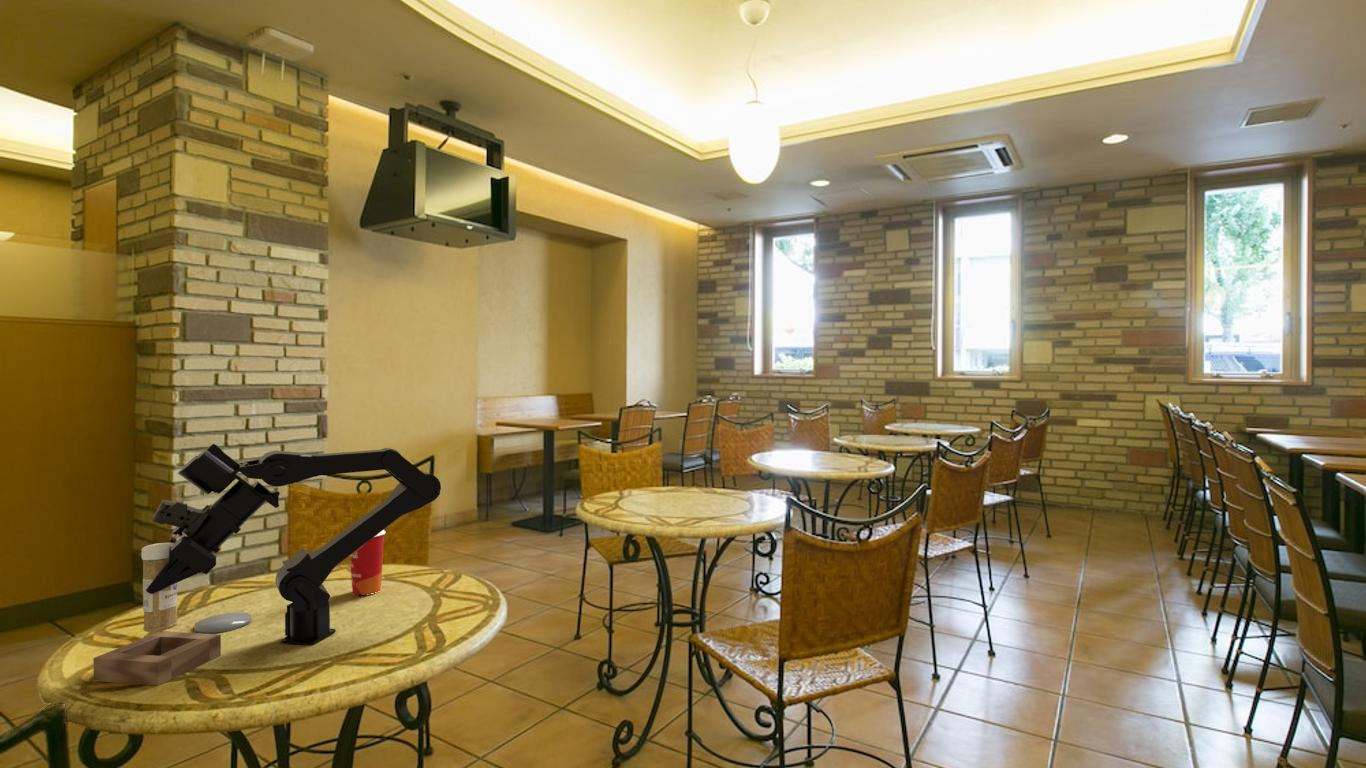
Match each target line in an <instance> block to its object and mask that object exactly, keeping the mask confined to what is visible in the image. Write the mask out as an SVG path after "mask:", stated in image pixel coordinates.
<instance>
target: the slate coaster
mask: <svg viewBox="0 0 1366 768" xmlns="http://www.w3.org/2000/svg"><path fill="white" fill-rule="evenodd" d="M251 622H252V614H251V613H248V612H243V611H242V612H226V613H221V614H220V613H219V614H215V615H211V616H209V617H205V618H202V619H200V620H198V621H196V622H195V623H194V626H193V627H194V633H202V634H218V633H225V632H229V631H233V630H237V629H241V628H242V627H245V626H247V625H249V624H250V623H251Z"/></svg>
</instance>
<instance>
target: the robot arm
mask: <svg viewBox="0 0 1366 768" xmlns="http://www.w3.org/2000/svg"><path fill="white" fill-rule="evenodd" d="M384 470H385V471H386V472H387V473H388V474H389V475H390V476H392V477H393V478H394V480H396V481H397V482H398V484H397V485H396V486H395V487H394V489H393V490H392V492H391V493H390V494H389V495H388V497H387V498H386V499H385V500H383V501H382V502H381V503H380V504H378V505H377V506H375V507H374V508H373V509H371V510H370V511H368V512H367V513H365V514H364V515H363V516H362V517H360V518H359V519H358V520H356V521H355V522H354V523H352V524H351V525H350V526H348V527H347V528H346V529H344V530H342V531H341V532H340V533H339V534H337V535H336V536H335V537H333V538H332V539H330V540H329V541H328V542H327V543H325V544H324V545H322V546H321V547H319V548H317V549H315V550H312V551H310V552H308V551H307V549H306V548H305V547H302V548H300V549H299V550H297V552H296V553H295V554H294V555H293V556H291V557H290V558H287V559H285V560H283V561H282V566H281V567H280V568H279V569H278V570H277V572H276V574H275V586H276V588H277V590H278V592H279V594H280V596H281V597H282V598H283V599H284V600H286V601H288V602H291V603H289V604H287V605H286V612H285V613H284V633H285V635H284V636H285V637H282V638H280V641H279V642H280V643H281V644H297V645H314V644H316V643H319V642H320V641H322V640H323V639H325V638H327V637H329V636H330V635H333V634H335V633H336V628H331V625H330V624H331V622H330V621H331V620H330V619H331V617H330V616H331V613H330V612H331V607H330V606H331V605H330V604H331V602H330V598H331V595H330V593H329V592H328V590H327V588H326V587H325V585H324V582H325V581H326V579H327V578H328V577H329V576H330V574H331V573H332V572H333V570H334V569H335V568H336V567H337V566H338V565H340V564H341V563H342V562H344V560H346V559H347V558H348V557H350V555H351V554H352V553H354V552H355V551H356V550H357V549H359V548H360V547H361V546H363V545H364V544H365V543H367V542H368V541H369V540H371V539H372V538H373V537H375V536H376V535H377V534H378V533H380V532H381V531H382V530H384V531H385V529H386V528H388V527H389V526H390V525H392V524H393V523H394V522H395V521H397V520H398V519H400V518H401V517H402V516H404V515H407V514H409V513H412V512H415V511H417V510H420V509H422V508H423V507H426V506H427V505H429V504H431V503H432V502H434V501H436V500H437V498H439V496H440V495H441V490H442V486H441V482H440V479H439V478H438V477H437V476H436V475H433V474H431V473H429V472H426V471H423V470H420V469H419V468H418V467H417V466H416V465H414V464H413V463H411V462H410V461H409V460H408V459H407V458H406V457H404V456H403V455H402V454H401V453H400V451H398V450H396V449H394V448H391V447H385V448H381V449H373V450H357V451H345V452H331V453H317V454H315V453H306V452H298V451H296V452H295V451H286V450H271V451H268V452H266V453H264V454H263V455H262V456H261V457H260V458H258V459H257V458H256V459H253V460H247V461H246V460H244V461H242V462H238V461H236V460H235V459H233V458H232V456H229V455H228V454H227V453H226V452H224V451H223V449H222V448H221V447H220V446H218V444H216V443H212V444H210V445H209V446H208V447H206V449H204V450H203V451H202V452H200V453H199V454H198V455H195V456H194V457H193V458H191V459H190V460H189V461H188V462H187V463H185V465H184V466H183V467H182V468H181V469H180V470H179V471H178V472H177V475H179V476H181V477H182V478H184V480H186V481H188V482H189V483H191V484H192V486H193V485H194V486H195V487H196V488H197V489H199V490H200V491H201V492H203V493H204V494H206V495H210V494H211V493H215V494H217V495H219V494H221V493H222V492H224V490H225V489H227V488H228V487H229V486H230V485H231V484H232V483H233V482H234V481H235V480H237V481H236V482H235V483H234V484H232V486H231V487H230V488H229V489H227V491H225V492H224V494H222V495H221V496H220V497H219V498H218V499H217V500H215V501H214V503H210V504H206V505H205V506H204V507H203V508H202V509H199V508H196V507H193V506H190V505H188V503H182V502H179V501H178V500H176V501H172V500H168V499H162V501H161V502H160V503H159V506H158V507H157V509H156V512H155V513H154V516H153V517H152V522H154V523H156V524H159V525H164V524H166V525H169V526H172V527H175V528H174V529H173V530H172V534H173V535H175V536H177V535H178V537H177V538H175V537H172V536H170V538H169V543H175V544H174V545H173V546H172V547H171V546H170V547H169V561H168V562H167V563H166V565H165V566H164V567H163V568H162V570H161V571H160V572H159V574H158V575H157V576H156V577H155V579H154V580H153V581H152V582H151V584H150V585H149V586H148V588H147V589H146V591H147V592H148V593H150V594H154V593H156V592H158V591H160V590H162V589H164V588H167V587H169V586H171V585H173V584H175V583H177V584H178V583H181V582H182V581H184V580H187V579H188V578H190V577H192V576H193V577H194V576H195V575H198V574H201V573H202V574H205V575H208V574H209V573H210V572H211V571H212V570H213V569H214V568H215V567H216V566H217V553H218V552H219V551H220V550H221V546H222V545H223V544H224V543H225V542H227V540H228V539H229V538H230V537H231V536H233V534H235V535H237V534H238V533H239V532H240V531H241V527H242V526H243V525H244V524H245V523H246V522H247V521H248V520H249V519H250V518H251V517H252V516H254V514H255V513H256V512H258V510H260V509H261V508H262V506H264V505H265V503H268V504H269V505H270V506H272V507H273V508H275V509H278V508H279V507H280V504H279V497H280V493H281V492H280V491H279V490H270V489H268V487H266V486H265V485H264V484H262V483H260V482H259V481H255V482H253V483H252V484H251V483H250V482H248V481H247V480H246V479H244V478H243V477H241V475H239V474H238V473H241V474H242V475H244V476H245V477H246V478H248V479H253V480H262V481H263V482H264V483H265V484H267V485H269V486H271V487H283V486H287V485H290V484H291V485H292V484H295V483H299V482H303V481H306V480H309V479H311V478H315V477H320V476H329V475H340V474H351V473H361V472H362V473H363V472H372V471H384Z"/></svg>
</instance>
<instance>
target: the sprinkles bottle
mask: <svg viewBox="0 0 1366 768" xmlns="http://www.w3.org/2000/svg"><path fill="white" fill-rule="evenodd" d="M174 544H175V543H170V542H160V543H154V544H149V545H145V546H143V547H142V548H141V560H142V567H143V569H142V577H143V578H142V607H143V608H142V609H143V623H144V625H143V627H142V629H143V631H145V632H146V633H158V632H160V631H167V630H170V629H172V628H175V627H176V626H177V625H178V623H179V620H178V613H177V612H178V608H177V607H178V582H177V583H175V584H173V585H171V586H169V587H167V588H164V589H162V590H160V591H158V592H156V593H154V594H150V593H148V592H147V591H146V589H147V588H148V586H149V585H150V584H151V582H152V581H153V580H154V579H155V577H156V576H157V575H158V574H159V572H160V571H161V570H162V568H163V567H164V566H165V565H166V563H167V562H168V561H169V547H170V546H171V547H172V546H173V545H174Z"/></svg>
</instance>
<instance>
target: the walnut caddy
mask: <svg viewBox="0 0 1366 768" xmlns="http://www.w3.org/2000/svg"><path fill="white" fill-rule="evenodd" d="M221 640H222V635H221V634H218V633H198V632H184V631H183V632H182V631H170V630H169V631H167V630H164V631H159V632H154V633H153V634H151V635H148V636H145V637H143V638H140V639H138V640H136V641H135V640H134V641H133V642H130V643H127V644H126V645H122V646H120V647H118V648H115V649H113V650H110V651H108V652H105V653H103V654H101V655H97V656H96V657H93V659H92V660H93V681H95V682H105V683H106V682H108V683H117V684H118V683H119V684H132V685H144V686H145V685H147V686H156V687H159V686H160V685H162V684H165V683H166V682H167V683H168V681H170V680H173V679H175V678H177V677H179V676H181V675H184V674H186V673H187V672H190V671H191V670H193V669H196V668H198V667H200V666H202V665H204V664H206V663H208V662H210V661H212V660H214V659H216V658H218V657H220V656H221V655H222V651H221V650H222V648H221V647H222V645H221V644H222V643H221Z"/></svg>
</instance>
